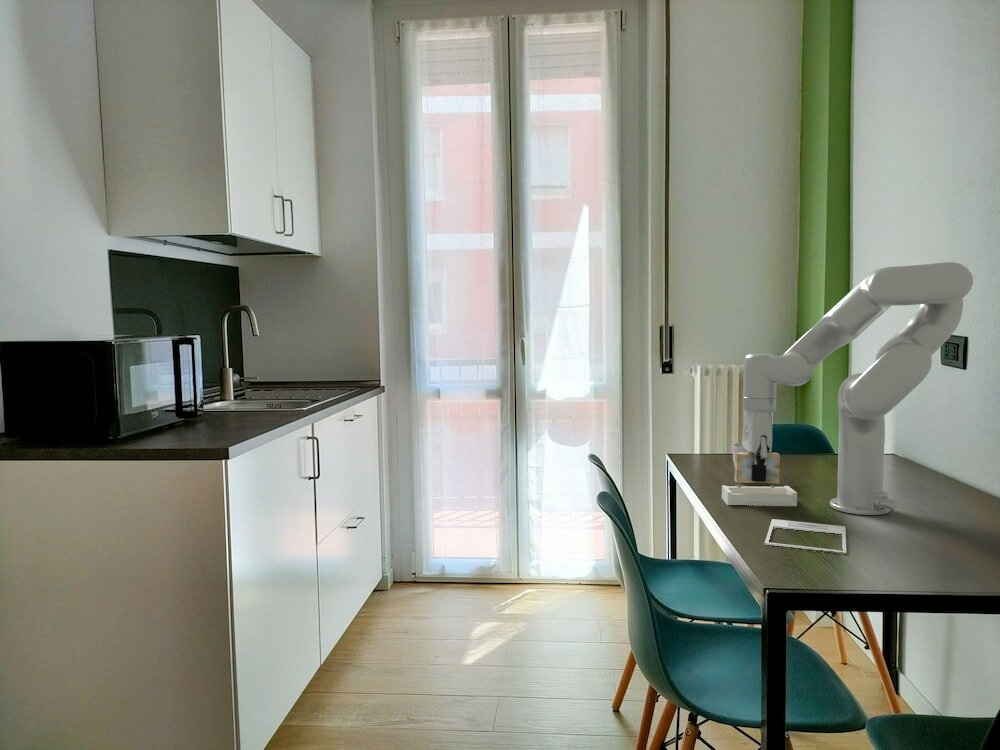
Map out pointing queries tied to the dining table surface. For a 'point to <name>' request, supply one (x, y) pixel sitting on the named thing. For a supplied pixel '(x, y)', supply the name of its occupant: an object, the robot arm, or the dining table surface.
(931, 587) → the dining table surface
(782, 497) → the white pegged tray
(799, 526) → the photo frame
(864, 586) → the dining table surface
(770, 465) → the oak frame
